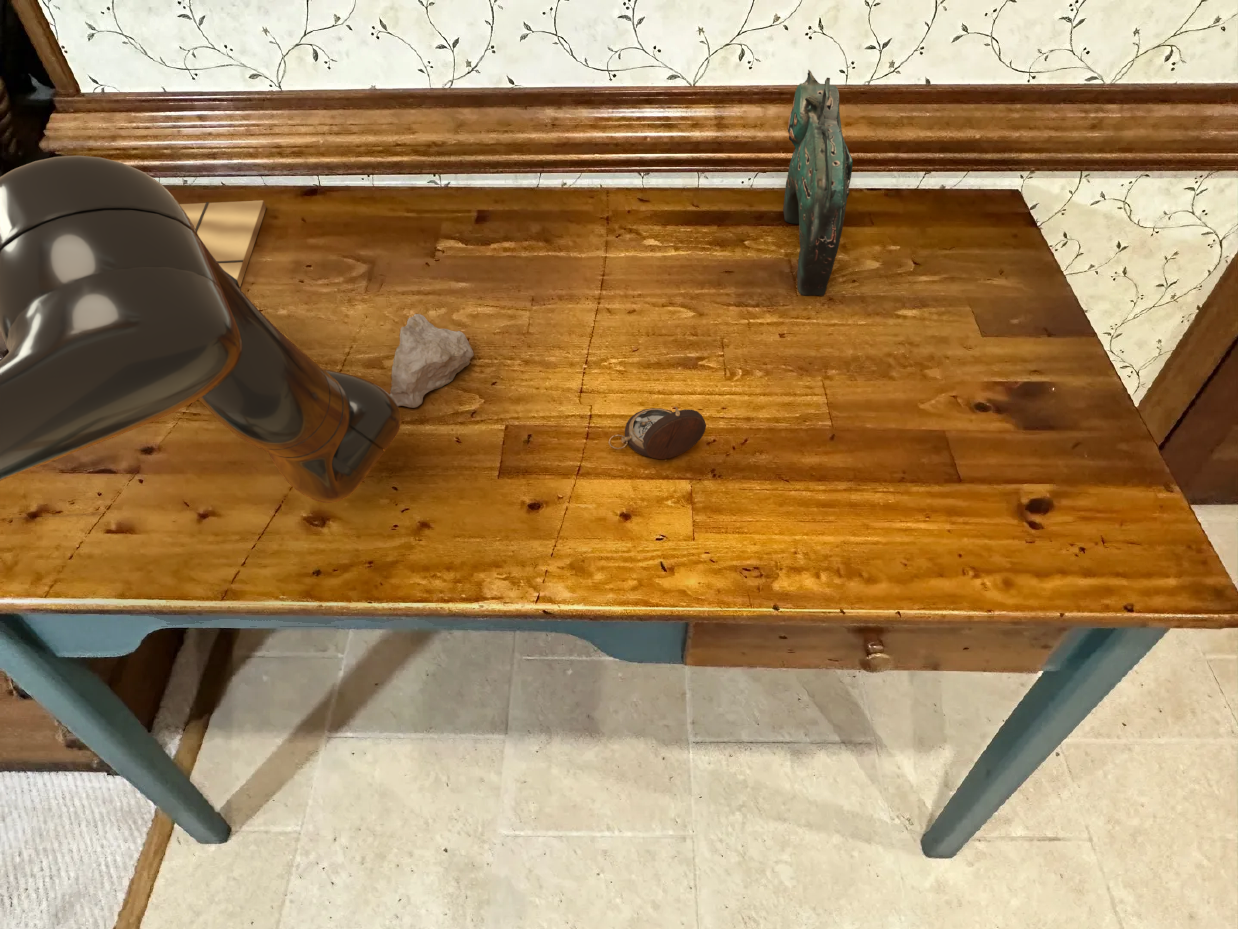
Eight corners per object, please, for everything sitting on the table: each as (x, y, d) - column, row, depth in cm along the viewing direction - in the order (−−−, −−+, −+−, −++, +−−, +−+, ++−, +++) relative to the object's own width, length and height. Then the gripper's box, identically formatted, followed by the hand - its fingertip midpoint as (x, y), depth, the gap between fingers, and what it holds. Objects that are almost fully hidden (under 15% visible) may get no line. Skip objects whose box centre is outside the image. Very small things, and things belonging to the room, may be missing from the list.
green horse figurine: (773, 202, 113) (796, 45, 98) (823, 203, 113) (854, 45, 98) (786, 299, 100) (814, 135, 85) (843, 301, 100) (881, 136, 85)
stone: (448, 420, 88) (439, 377, 84) (374, 406, 89) (361, 363, 85) (482, 355, 94) (475, 313, 90) (412, 344, 96) (401, 301, 91)
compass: (670, 406, 89) (673, 352, 84) (704, 461, 84) (710, 407, 79) (597, 428, 87) (595, 375, 82) (628, 485, 82) (628, 432, 77)
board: (205, 393, 91) (200, 383, 90) (66, 401, 90) (59, 391, 89) (266, 208, 113) (263, 198, 112) (155, 213, 112) (150, 203, 111)
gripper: (272, 281, 79) (169, 218, 86) (129, 366, 72) (28, 289, 79) (295, 344, 85) (197, 280, 92) (165, 429, 78) (68, 352, 84)
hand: (119, 284), depth 85 cm, fingers open, 8 cm apart
